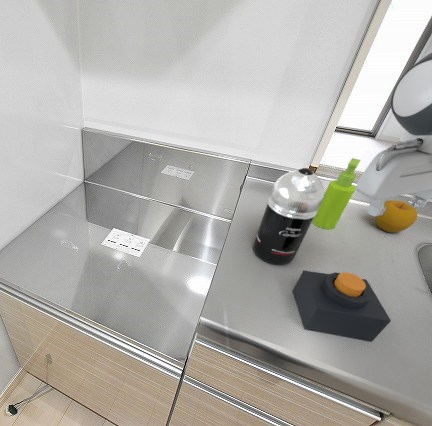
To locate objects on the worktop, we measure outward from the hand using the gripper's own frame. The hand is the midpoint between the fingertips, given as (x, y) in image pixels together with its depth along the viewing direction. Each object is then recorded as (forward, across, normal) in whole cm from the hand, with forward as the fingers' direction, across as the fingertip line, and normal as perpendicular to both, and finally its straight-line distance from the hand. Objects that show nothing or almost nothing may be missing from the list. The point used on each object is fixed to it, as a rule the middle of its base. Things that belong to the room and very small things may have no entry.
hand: (394, 210), depth 53 cm
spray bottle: (+23, -6, +16) cm, 29 cm away
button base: (+24, -6, -4) cm, 25 cm away
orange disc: (+15, -7, -4) cm, 17 cm away
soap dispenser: (+23, +18, +23) cm, 37 cm away
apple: (+23, +32, +16) cm, 43 cm away
